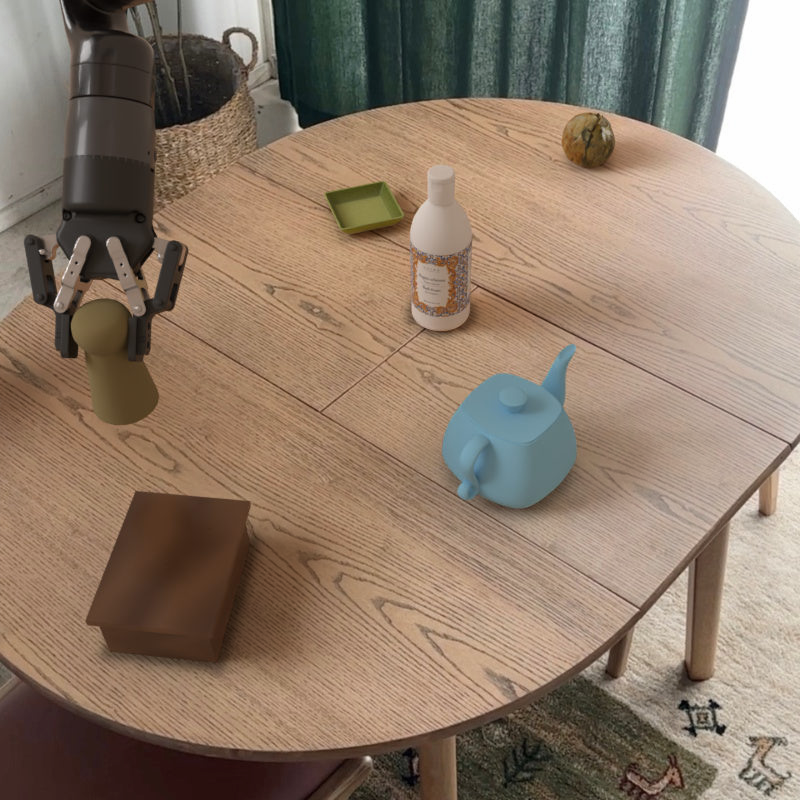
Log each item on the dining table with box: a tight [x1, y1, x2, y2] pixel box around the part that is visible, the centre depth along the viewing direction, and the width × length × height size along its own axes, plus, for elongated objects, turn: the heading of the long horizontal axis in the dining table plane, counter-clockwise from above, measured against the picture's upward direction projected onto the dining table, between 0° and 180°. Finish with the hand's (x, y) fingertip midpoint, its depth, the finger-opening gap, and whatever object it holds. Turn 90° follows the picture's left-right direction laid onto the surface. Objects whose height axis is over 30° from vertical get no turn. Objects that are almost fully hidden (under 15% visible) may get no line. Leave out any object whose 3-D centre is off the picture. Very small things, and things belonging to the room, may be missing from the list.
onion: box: [560, 111, 616, 169], centre depth 145 cm, size 8×8×8 cm
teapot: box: [441, 343, 578, 509], centre depth 106 cm, size 13×11×18 cm
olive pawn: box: [71, 297, 160, 426], centre depth 93 cm, size 6×6×11 cm
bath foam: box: [409, 164, 473, 332], centre depth 119 cm, size 7×7×20 cm
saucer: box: [323, 180, 405, 235], centre depth 139 cm, size 9×9×2 cm
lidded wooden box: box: [84, 490, 252, 663], centre depth 98 cm, size 11×14×6 cm
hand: (102, 359), depth 91 cm, fingers closed on olive pawn, 5 cm apart
